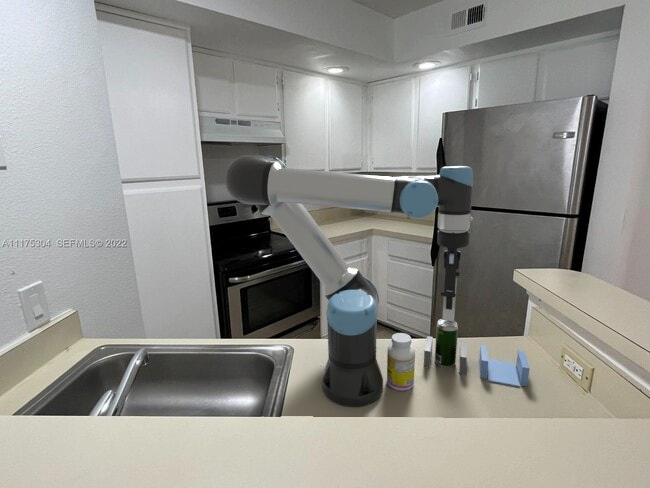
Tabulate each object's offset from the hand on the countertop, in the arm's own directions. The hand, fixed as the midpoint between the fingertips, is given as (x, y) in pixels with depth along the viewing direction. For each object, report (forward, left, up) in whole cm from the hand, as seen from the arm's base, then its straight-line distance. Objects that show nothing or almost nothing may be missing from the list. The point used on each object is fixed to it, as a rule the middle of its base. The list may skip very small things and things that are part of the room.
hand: (449, 308), depth 91 cm
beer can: (0, 0, -16) cm, 16 cm away
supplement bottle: (-10, -13, -16) cm, 23 cm away
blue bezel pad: (+14, 0, -16) cm, 21 cm away
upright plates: (+7, 0, -16) cm, 17 cm away
